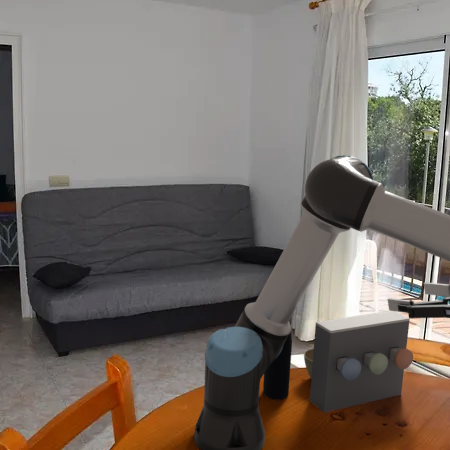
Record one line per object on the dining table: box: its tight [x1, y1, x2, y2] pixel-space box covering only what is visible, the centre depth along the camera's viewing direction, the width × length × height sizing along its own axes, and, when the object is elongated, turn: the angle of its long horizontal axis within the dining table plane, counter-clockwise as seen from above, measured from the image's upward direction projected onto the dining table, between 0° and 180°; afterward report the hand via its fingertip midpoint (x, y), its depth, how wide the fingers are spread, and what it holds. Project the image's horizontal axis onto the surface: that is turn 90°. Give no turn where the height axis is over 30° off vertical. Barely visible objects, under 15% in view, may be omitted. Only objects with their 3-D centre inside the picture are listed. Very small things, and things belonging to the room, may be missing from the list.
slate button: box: [337, 357, 361, 380], centre depth 132 cm, size 4×5×5 cm
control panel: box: [309, 310, 411, 414], centre depth 140 cm, size 6×24×21 cm, turn 116°
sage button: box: [364, 352, 388, 375], centre depth 136 cm, size 4×5×5 cm
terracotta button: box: [389, 347, 414, 370], centre depth 139 cm, size 4×5×5 cm
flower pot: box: [303, 348, 314, 379], centre depth 150 cm, size 10×10×7 cm
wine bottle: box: [262, 330, 293, 401], centre depth 140 cm, size 6×6×30 cm
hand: (407, 296), depth 133 cm, fingers open, 13 cm apart
